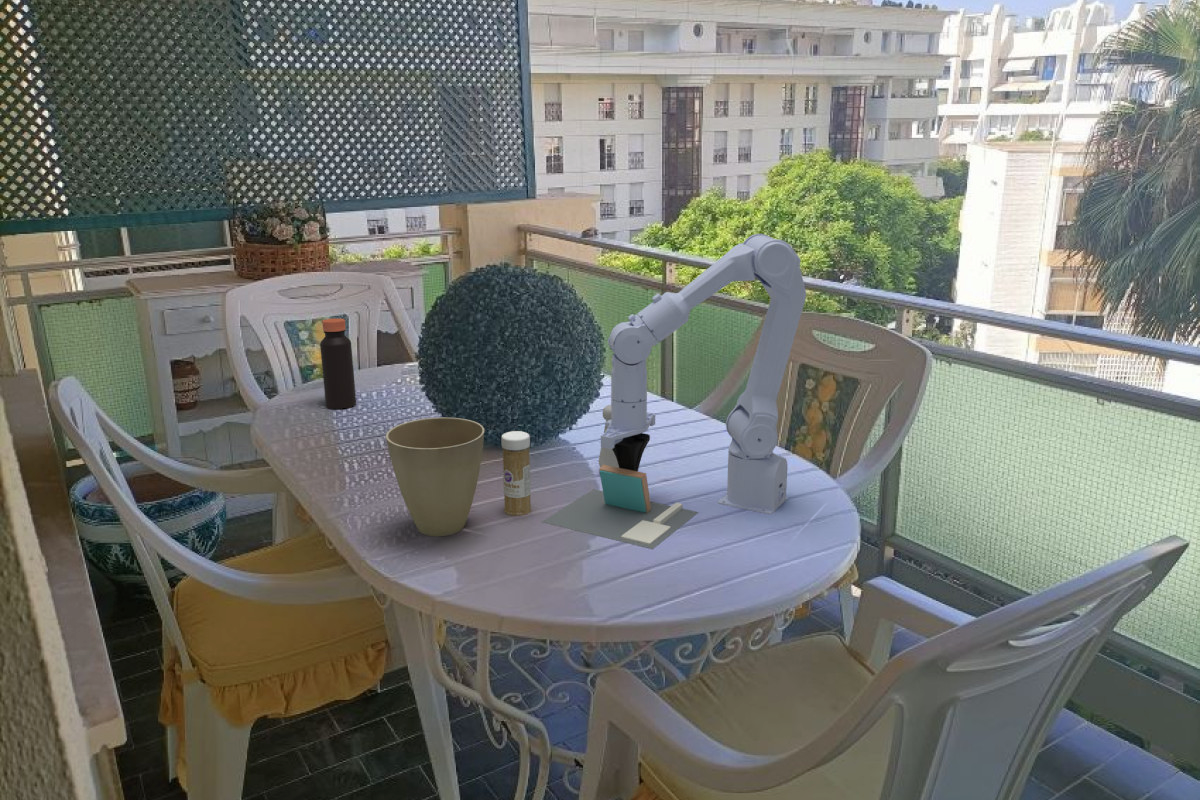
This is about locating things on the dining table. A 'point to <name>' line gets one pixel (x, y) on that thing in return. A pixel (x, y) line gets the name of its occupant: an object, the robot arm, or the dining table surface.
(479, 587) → the dining table surface
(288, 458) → the dining table surface
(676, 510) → the turner
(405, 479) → the plant pot
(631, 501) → the tile
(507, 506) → the sprinkles bottle
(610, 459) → the salt shaker
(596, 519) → the mat
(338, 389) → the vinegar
